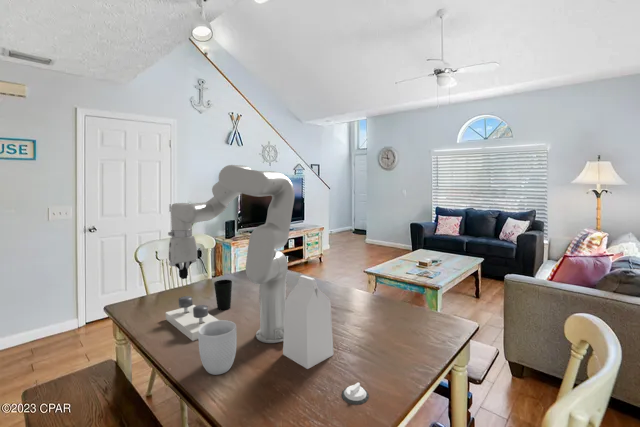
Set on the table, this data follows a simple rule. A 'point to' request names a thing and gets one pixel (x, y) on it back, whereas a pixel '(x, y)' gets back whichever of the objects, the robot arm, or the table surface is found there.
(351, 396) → the stove knob
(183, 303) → the knob far
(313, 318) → the milk
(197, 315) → the knob near
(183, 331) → the mount
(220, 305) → the cup
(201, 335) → the mug
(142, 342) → the table surface
